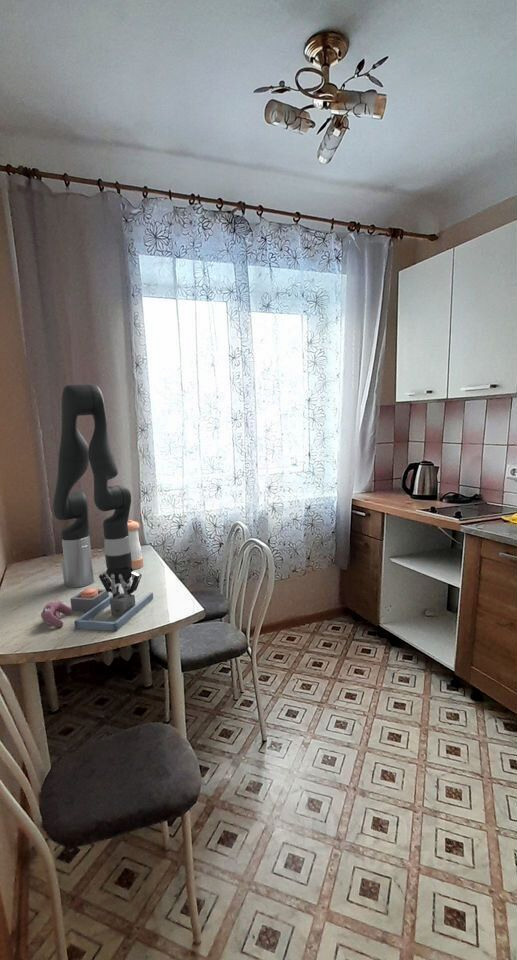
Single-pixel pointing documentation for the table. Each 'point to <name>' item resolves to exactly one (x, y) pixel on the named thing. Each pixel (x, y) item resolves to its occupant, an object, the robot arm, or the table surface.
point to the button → (89, 593)
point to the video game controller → (55, 613)
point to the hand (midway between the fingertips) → (122, 604)
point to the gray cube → (121, 604)
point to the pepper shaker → (135, 544)
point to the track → (113, 626)
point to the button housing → (87, 601)
